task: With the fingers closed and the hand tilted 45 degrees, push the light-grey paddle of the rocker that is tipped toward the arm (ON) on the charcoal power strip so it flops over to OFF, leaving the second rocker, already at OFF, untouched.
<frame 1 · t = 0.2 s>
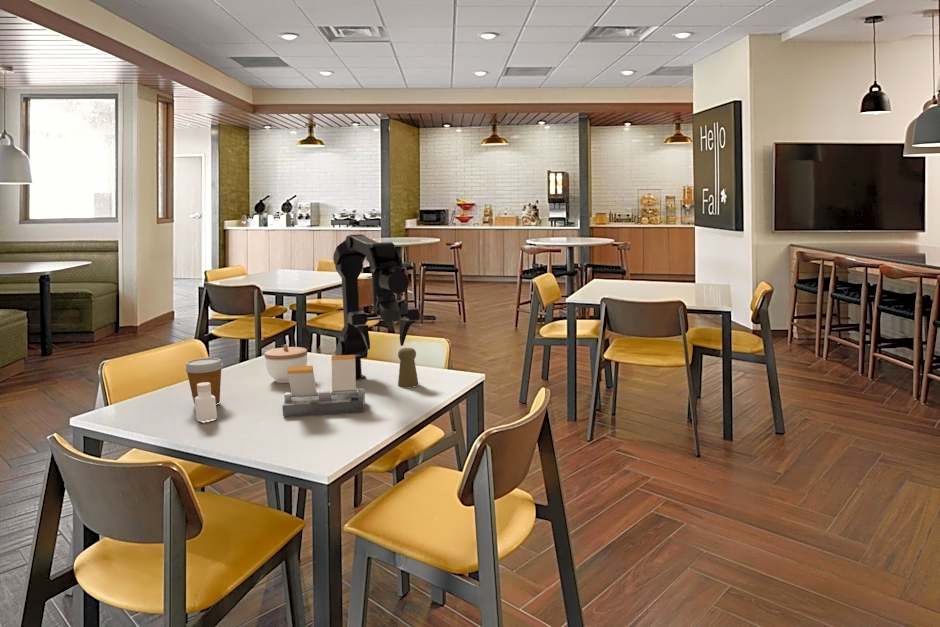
hand: (385, 347, 180), 14 cm above the table, tool pointing down, fingers open, 9 cm apart
power strip: (345, 408, 174), on the table
pepper shaker: (408, 385, 196), on the table
disposable coffee cup: (207, 405, 180), on the table
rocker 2: (302, 382, 169), point 8 cm above the table, hinge at 32.0°
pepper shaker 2: (206, 421, 166), on the table
lidded bowl: (287, 380, 205), on the table
rocker 1: (343, 374, 174), point 9 cm above the table, hinge at -22.0°
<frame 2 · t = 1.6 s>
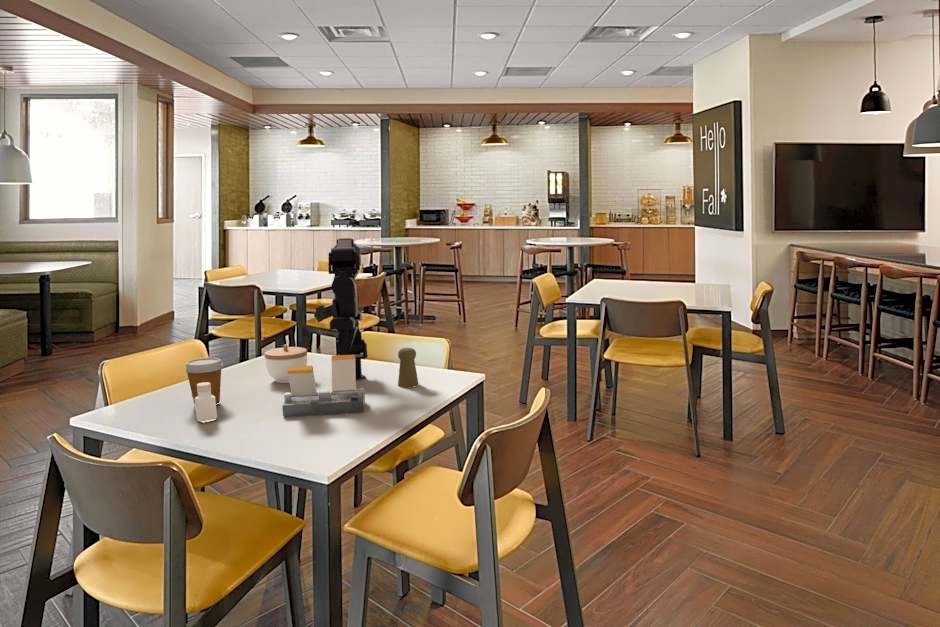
hand: (347, 350, 184), 13 cm above the table, tool pointing down, fingers closed
nothing on the table moved.
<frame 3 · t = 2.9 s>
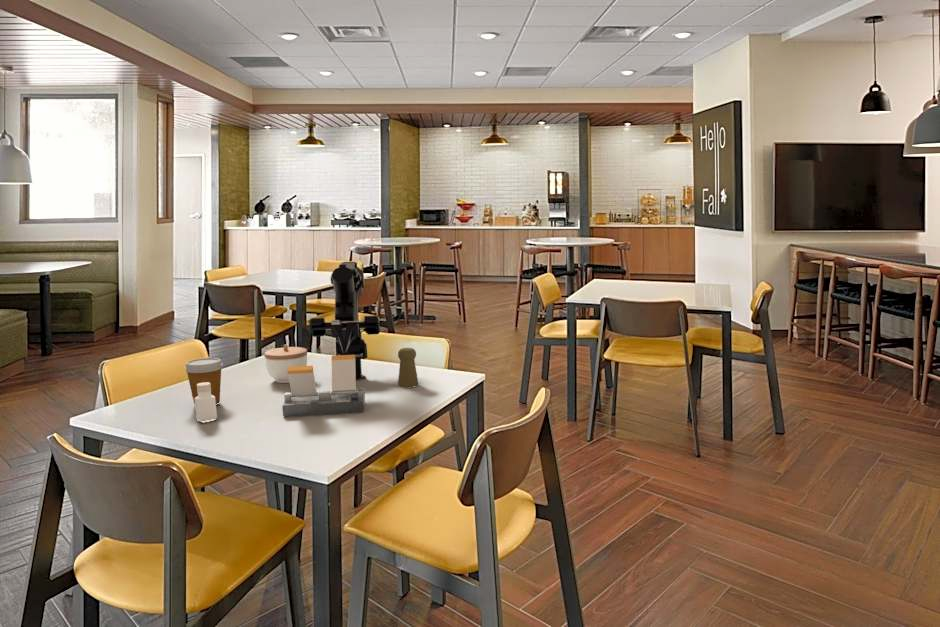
hand: (344, 351, 180), 13 cm above the table, tool tilted 45°, fingers closed
nothing on the table moved.
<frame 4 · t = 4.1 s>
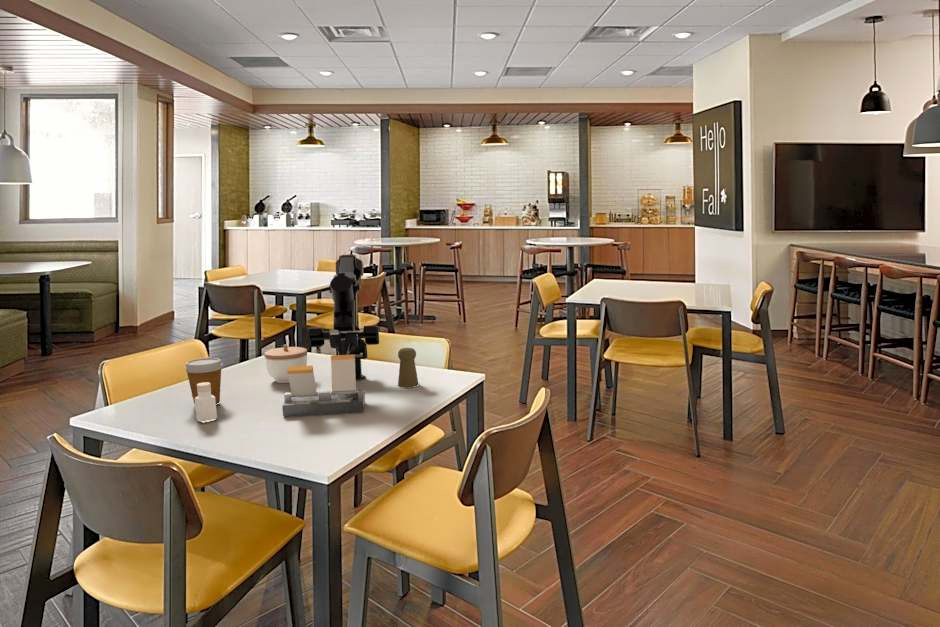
hand: (343, 362, 175), 12 cm above the table, tool tilted 45°, fingers closed, pressing on rocker 1
rocker 1: (343, 374, 174), point 9 cm above the table, hinge at -12.9°, touching gripper
everything else where it was.
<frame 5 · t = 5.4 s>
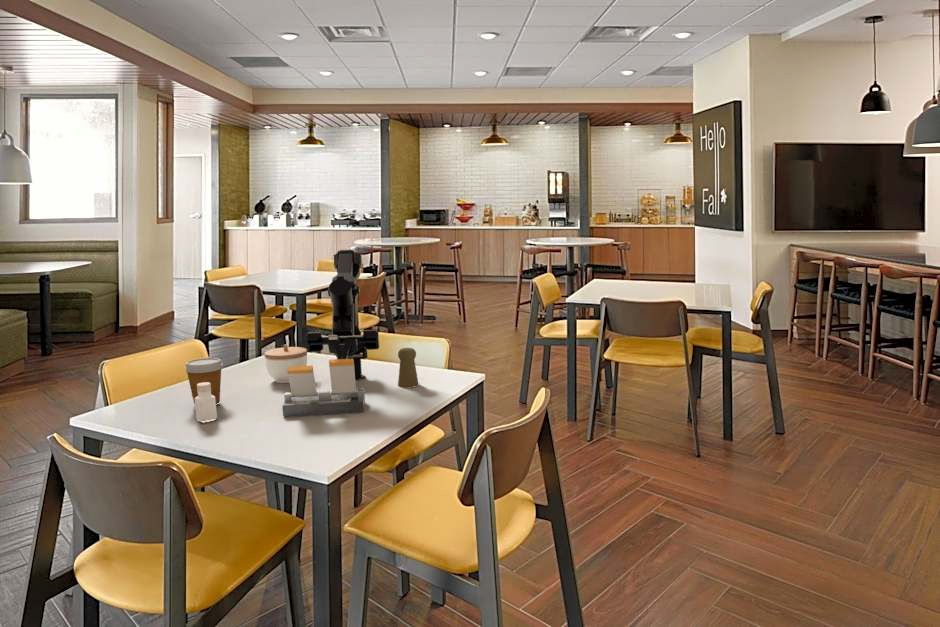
hand: (342, 368, 171), 11 cm above the table, tool tilted 45°, fingers closed
rocker 1: (342, 377, 171), point 9 cm above the table, hinge at 18.7°
everything else where it was.
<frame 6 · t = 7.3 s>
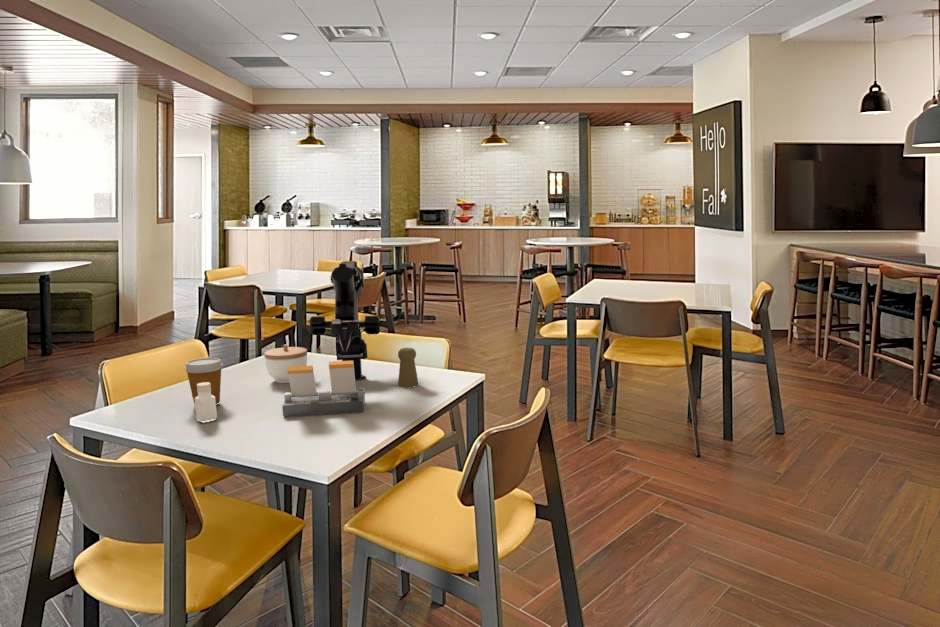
hand: (344, 351, 180), 13 cm above the table, tool tilted 45°, fingers closed
rocker 1: (342, 378, 171), point 8 cm above the table, hinge at 24.5°
everything else where it was.
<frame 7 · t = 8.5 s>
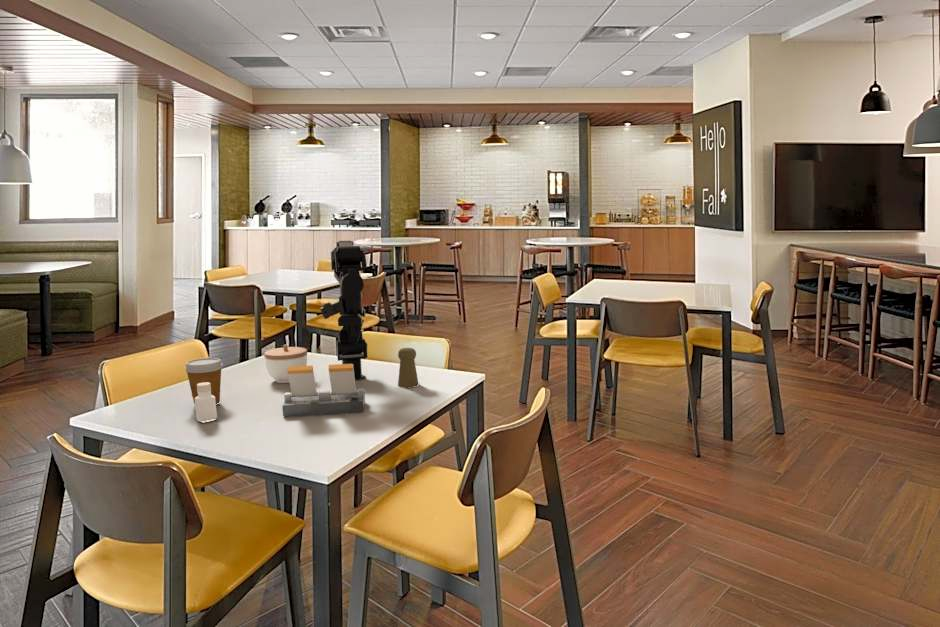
hand: (353, 346, 188), 13 cm above the table, tool pointing down, fingers closed
rocker 1: (342, 380, 170), point 8 cm above the table, hinge at 32.1°
everything else where it was.
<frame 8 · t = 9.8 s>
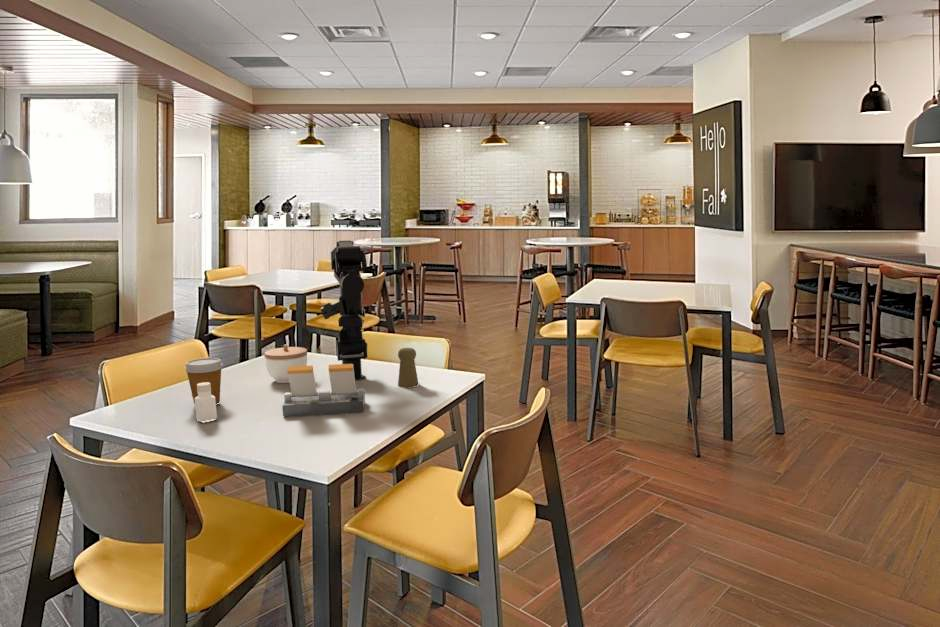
hand: (353, 346, 188), 13 cm above the table, tool pointing down, fingers closed
nothing on the table moved.
at the end: rocker 1 at +32° (first picture: -22°); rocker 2 at +32° (first picture: +32°) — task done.
